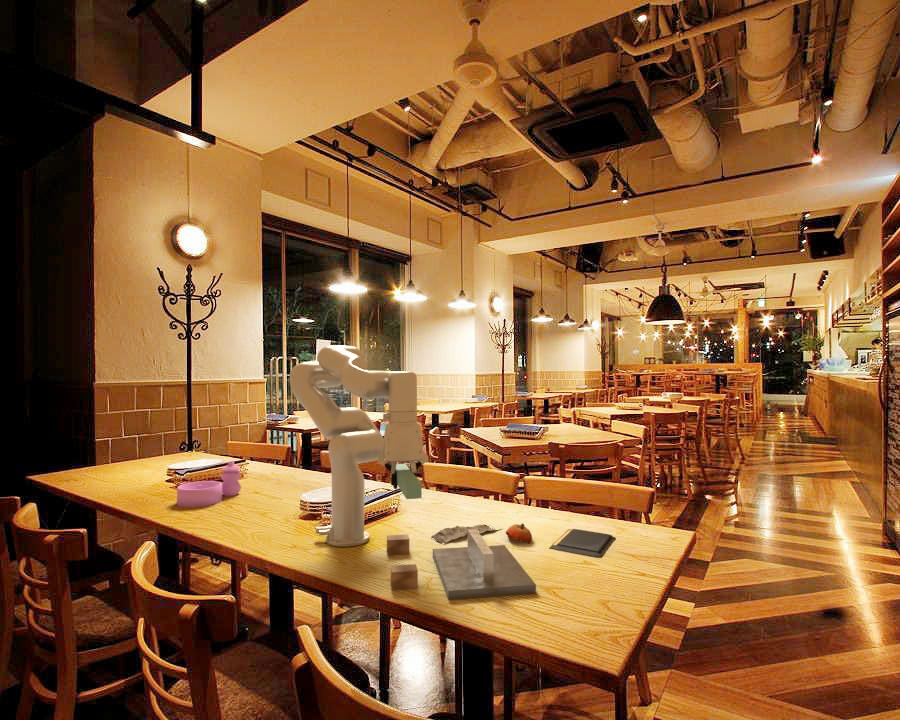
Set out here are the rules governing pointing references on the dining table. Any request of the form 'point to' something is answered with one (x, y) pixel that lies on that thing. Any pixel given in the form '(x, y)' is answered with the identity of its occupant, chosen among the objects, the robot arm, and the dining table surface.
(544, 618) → the dining table surface
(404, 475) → the teal batten
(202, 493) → the container set
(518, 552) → the dining table surface
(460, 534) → the stone fragment
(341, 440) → the robot arm
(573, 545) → the dark grey flat block
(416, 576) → the batten rest
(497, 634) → the dining table surface
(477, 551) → the ridge stand
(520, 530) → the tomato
